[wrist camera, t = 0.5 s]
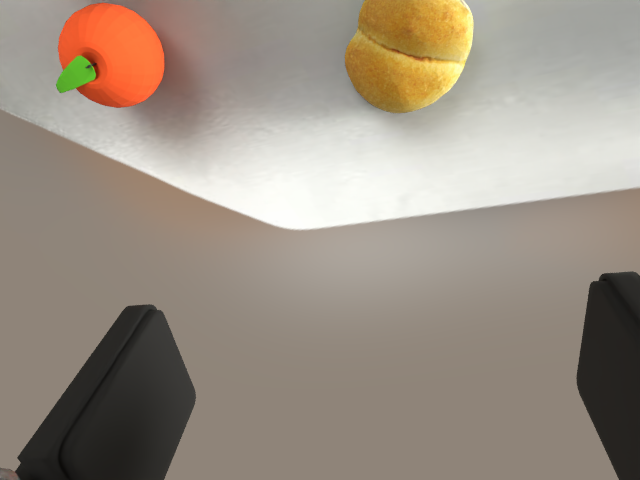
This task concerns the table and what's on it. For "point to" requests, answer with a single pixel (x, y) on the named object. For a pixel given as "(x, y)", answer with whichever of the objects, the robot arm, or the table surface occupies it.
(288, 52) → the table surface
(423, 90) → the bread roll
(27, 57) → the table surface
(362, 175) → the table surface
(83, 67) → the clementine
